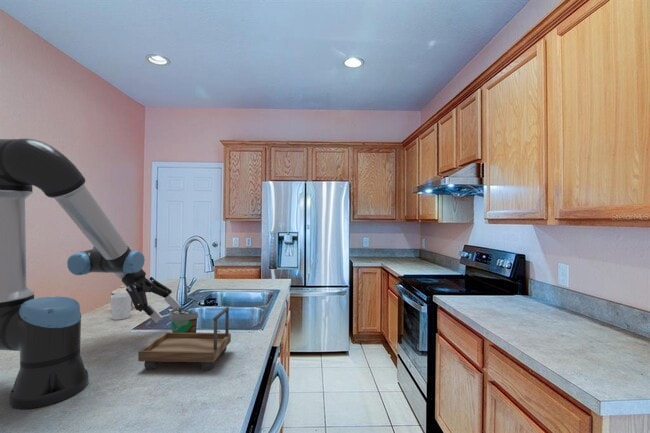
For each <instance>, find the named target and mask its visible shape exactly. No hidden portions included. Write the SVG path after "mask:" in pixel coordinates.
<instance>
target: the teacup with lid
mask: <svg viewBox="0 0 650 433" xmlns="http://www.w3.org/2000/svg"><path fill="white" fill-rule="evenodd" d="M126 288H127V286H126V285H125V284H124V285H119V287H118V288H116V289H114V290H112V292H111V293H110V296H112V295H114V294H119V293H128V292H127V291H126ZM133 308H134V304H133V302H132V300H131V310H133ZM131 310H130V311H131Z"/></svg>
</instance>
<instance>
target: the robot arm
mask: <svg viewBox="0 0 650 433" xmlns="http://www.w3.org/2000/svg"><path fill="white" fill-rule="evenodd" d="M86 181H87V180H86V177H85V176H84V175H83V174H82V172H81V171H80V170H79V169H78V167H77V166H76V165H75V164H74V163H73V162H72V161H71V160H70V159H69V158H68V157H67V156H65V155H64V154H63V153H62V151H61V152H60V150H58V149H56V148H55V147H53V146H52V145H50V144H48V143H46V142H44V141H40V140H37V139H32V138H7V139H6V138H5V139H4V138H0V351H10V352H11V351H14V352H15V351H16V352H17V351H18V352H19V370H18V373H17V375H16V378H15V380H14V383H13V387H12V389H11V391H10V393H9V405H10V406H11V408H14V409H21V410H26V409H28V410H29V409H35V408H40V407H41V408H42V407H46V406H50V405H53V404H56V403H59V402H62V401H64V400H66V399H68V398H71V397H73V396H74V395H77V394H78V393H80V392H81V391H82V390H84V389H85V388H86V387H87V386H88V385H89V372H88V370H87V369H86V367H85V366H86V365H85V364H84V361H83V359H82V356H81V330H82V329H81V328H82V313H81V307H80V303H79V301H78V300H77V299H75V298H71V297H67V296H43V297H36V298H35V291H34V290H32V289H30V288H29V287H27V247H26V243H27V242H26V238H27V237H26V199H27V198H29V197H30V196H31V195H32V194H33V186H34V187H36V188H38V189H39V190H41V192H43V195H45V196H46V197H47V198H51V199H54V200H55V201H56V202H57V203H58V205H59V206H61V208H62V210H63V211H64V212H65V213H66V214H67V215H68V217H69V218H70V219H71V221H72V222H73V223H74V224H75V225H76V227H77V228H78V229H79V230H80V231H81V232H82V234H83V235H84V236H85V237H86V239H87V240H88V241H89V242H90V243H91V244H92V246H93V247H92V249H88V250H83V251H78V252H76V253H73V254H71V255H70V256H69V257H68V258H67V261H66V264H67V268H68V271H69V272H70V273H71V274H72V275H75V276H83V275H88V274H90V273H102V274H103V273H104V274H105V273H107V274H108V273H109V274H110V273H111V274H115V276H116V277H117V278H118V279H119V280H121V282H122V283H123V284H124V286H125V287H126V291H127V292H128V293H129V295H130V297H131V300H132V302H133V307H134V308H135V310H136V311H138V312H140V313H141V312H143V311H144V312H145V314H146V315H147V316H148V317H149V318H151V319H152V321H154V323H155V324H157V323H159V322H160V321H161V320H162V319H163V318H164V317H163V315H162V314H160V313H159V311H158V310H156V308H155V307H154V306H152V304H151V303H150V304H148V299H147V294H146V293H153V294H155V295H158V296H159V297H162V298H164V301H166V303H167V305H169V306H170V307H171V309H175V308H177V309H178V310H179V309H180V308H181V307H182V305H181V304H180V303H179V302H178V301H177V300H176V298H174V296H172V295H171V294H172V293H173V291H172V289H170V288H168V287H167V286H165V285H164V284H162V283H161V282H159V281H157V280H156V279H155V278H154V277H153V276H150V278H147V277H146V275H147V273H146V272H145V270H144V269H143V267H144V265H145V255H144V254H143V252H141V251H140V250H135V249H133V250H131V248H130V247H129V245H128V244H127V242H126V241H125V240H124V238H123V237H122V236H121V234H120V233H119V231H118V230H117V228H116V227H115V225H113V223H112V222H111V220H110V218H109V217H108V215H107V214H106V213H105V212H104V211H103V209H102V208H101V206H100V204H98V202H97V201H96V199H95V198H94V197H93V195H92V194H91V192H90V191H89V189H88V188H87V186H86Z"/></svg>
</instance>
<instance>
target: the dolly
mask: <svg viewBox="0 0 650 433" xmlns="http://www.w3.org/2000/svg"><path fill="white" fill-rule="evenodd" d="M229 309H230V307H229V306H226V307H225V308H223V309H222V310H221V311H220V312H219V313H218V314H217V315H215V317H213V318H212V320H213V332H196V333H172V332H164V333H163V334H161V335H160V336H158V337H157V338H156V339H154V340H153V341H152V342H150V343H149V344H148V345H146V346H145V347H143V348H141V349H140V350H139V351H138V353H137V358H138V360H137V361H138V362H144V363H143V364H144V368H145V369H146V370H148V371H151V370H153V369H155V367H157V365H158V364H159V362H164V363H165V362H166V363H167V362H168V363H169V362H171V363H173V362H175V363H178V362H179V363H201V369H202V370H203V371H205V372H206V371H207V372H208V371H211V370H212V368H213V367H214V366H215V362H216V360H217V359H218V357H219V356H221V355H224V353H225V352H226V351H227V349H228V348H227V347H228V346H229V344H230V343H231V341H232V339H231V338H232V337H231V336H232V334H231V333H230V332H229V331H230V328H229V327H230V325H229V324H230V323H229V321H230V320H229V317H230V316H229V315H230V314H229V312H230V310H229ZM224 314H225V321H224V322H225V325H224V326H225V328H224V330H225V332H218V319H219V318H221V317H222V316H223V315H224Z"/></svg>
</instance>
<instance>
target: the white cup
mask: <svg viewBox="0 0 650 433" xmlns="http://www.w3.org/2000/svg"><path fill="white" fill-rule="evenodd" d="M110 309H111V310H110V311H111V319H112V320H114V321H115V320H117V321H118V320H121V321H122V320H125V319H128V318H130V317H131V297H130V295H129V293H119V294H114V295H110Z"/></svg>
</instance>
